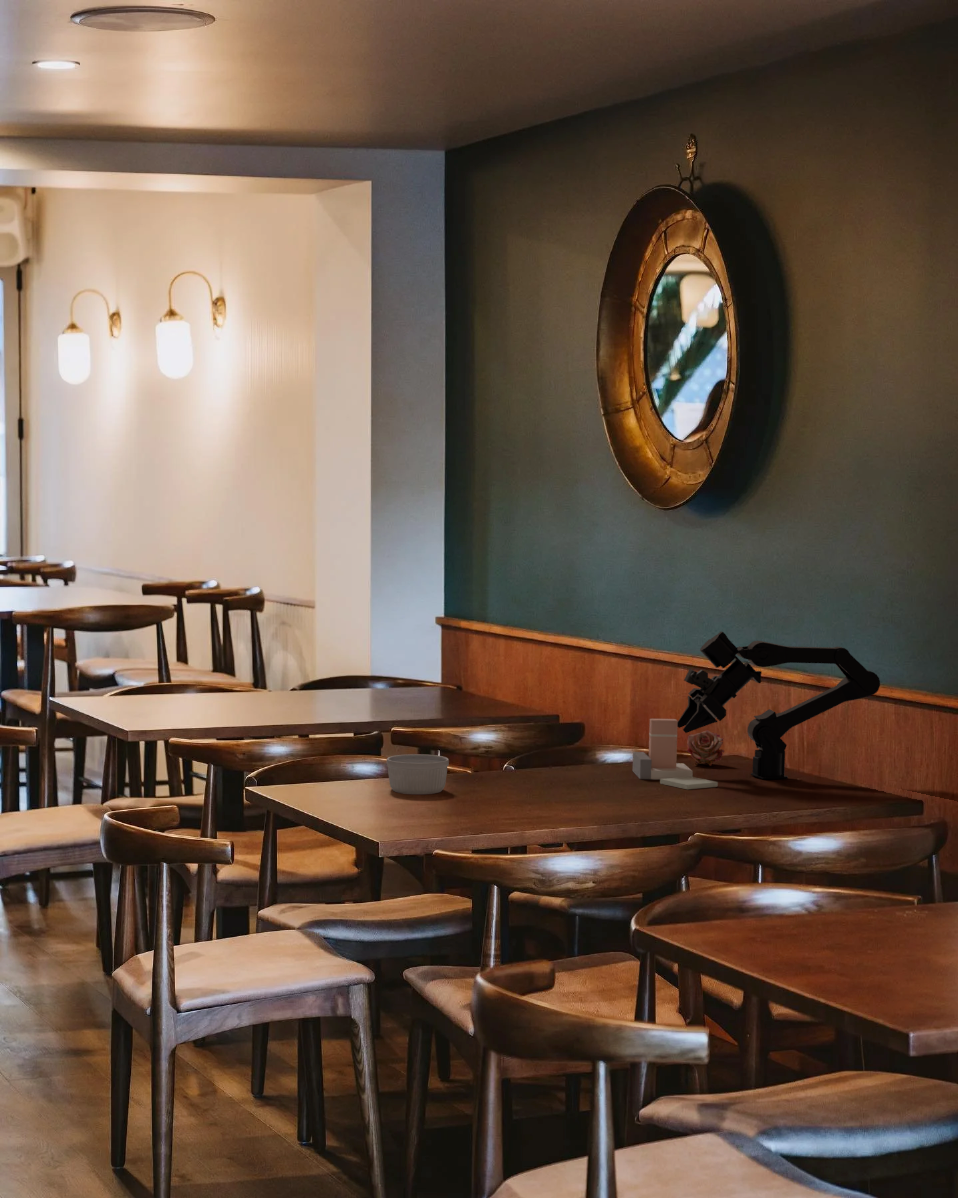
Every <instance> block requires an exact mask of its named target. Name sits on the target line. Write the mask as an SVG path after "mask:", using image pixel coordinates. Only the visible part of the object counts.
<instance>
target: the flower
mask: <svg viewBox="0 0 958 1198" xmlns="http://www.w3.org/2000/svg"><path fill="white" fill-rule="evenodd" d="M686 741H687V744H686V745H687V749H686V750H687V751H686V750H685V752H686V753H689V754H690V756H691V758H692V759H693V760H695V763H697V764H702V763H704V762H705V763H704V764H705V765H706V764H708V765H709V766H710V767H712V764H713V763H714V762H718V761H721V760H722V759H723V758H722V756H723V755H724V754H723V753H725V749H721V747H722V745H723V744H724V742H723V741H724V738H723V737H722V738H721V735H720V734H718V733H716V732H711V731H710V730H708V729H706V730H704V731H701V732H697V733H695V734H689V735H687V740H686Z"/></svg>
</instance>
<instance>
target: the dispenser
mask: <svg viewBox="0 0 958 1198" xmlns="http://www.w3.org/2000/svg"><path fill="white" fill-rule="evenodd" d="M632 772H633V773H634V774H635V776H636V777H638V779H639V780H660V779H667V778H678V777H689V776H691V777H693V775H694V774H693V770H692V769H691V768H689V766H687V765H686V764H685V763H684V762H683V763H679V762H676V768H651V759H650V758H649V755H648V754H647V753H645V752H643V751H633V752H632Z"/></svg>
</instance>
